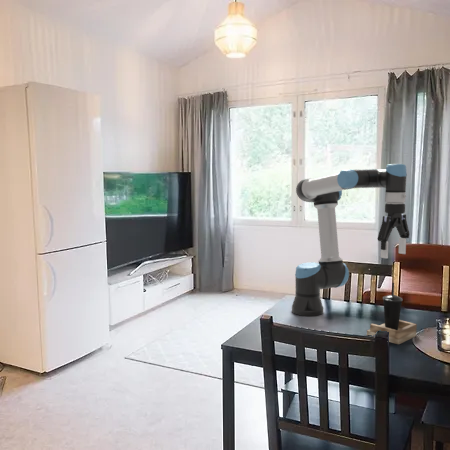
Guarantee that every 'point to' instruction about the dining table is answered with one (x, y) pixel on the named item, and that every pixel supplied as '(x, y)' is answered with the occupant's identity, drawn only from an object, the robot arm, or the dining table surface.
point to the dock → (396, 331)
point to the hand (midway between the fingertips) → (393, 255)
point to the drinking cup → (392, 310)
